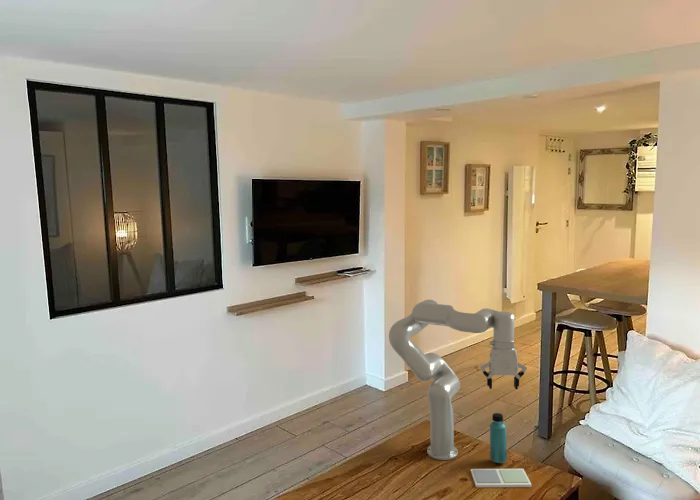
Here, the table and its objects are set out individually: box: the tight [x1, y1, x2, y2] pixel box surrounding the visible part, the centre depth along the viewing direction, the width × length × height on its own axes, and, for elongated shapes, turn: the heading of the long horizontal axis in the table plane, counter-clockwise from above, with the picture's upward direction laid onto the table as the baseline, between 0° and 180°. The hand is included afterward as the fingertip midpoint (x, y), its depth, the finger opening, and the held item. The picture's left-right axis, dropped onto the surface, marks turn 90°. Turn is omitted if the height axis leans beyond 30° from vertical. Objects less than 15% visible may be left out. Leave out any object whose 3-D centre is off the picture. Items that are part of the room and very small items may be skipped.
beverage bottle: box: [489, 412, 508, 464], centre depth 206 cm, size 6×7×20 cm
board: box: [470, 468, 533, 488], centre depth 195 cm, size 20×11×1 cm, turn 87°
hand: (502, 387), depth 199 cm, fingers open, 9 cm apart
